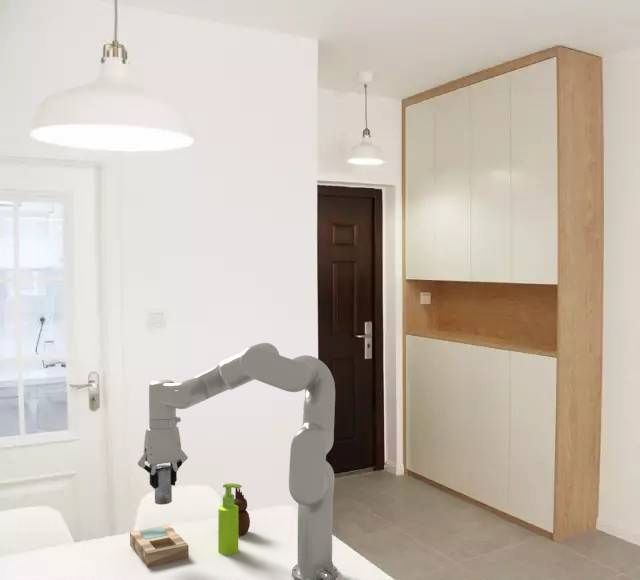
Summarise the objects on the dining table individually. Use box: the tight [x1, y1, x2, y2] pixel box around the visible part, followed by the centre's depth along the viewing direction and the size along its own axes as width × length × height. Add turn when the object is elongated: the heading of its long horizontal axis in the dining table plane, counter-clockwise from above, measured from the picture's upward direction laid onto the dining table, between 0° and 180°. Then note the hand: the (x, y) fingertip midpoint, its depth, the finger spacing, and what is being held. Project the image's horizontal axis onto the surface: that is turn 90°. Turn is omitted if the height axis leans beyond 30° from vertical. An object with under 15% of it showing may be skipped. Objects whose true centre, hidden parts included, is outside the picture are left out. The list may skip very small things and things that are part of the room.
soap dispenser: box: [217, 483, 243, 556], centre depth 204 cm, size 6×7×20 cm
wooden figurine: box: [234, 488, 251, 537], centre depth 218 cm, size 7×6×15 cm
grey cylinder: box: [154, 464, 173, 506], centre depth 200 cm, size 5×5×10 cm
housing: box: [129, 524, 189, 568], centre depth 204 cm, size 18×12×4 cm, turn 30°
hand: (163, 485), depth 200 cm, fingers closed on grey cylinder, 4 cm apart
